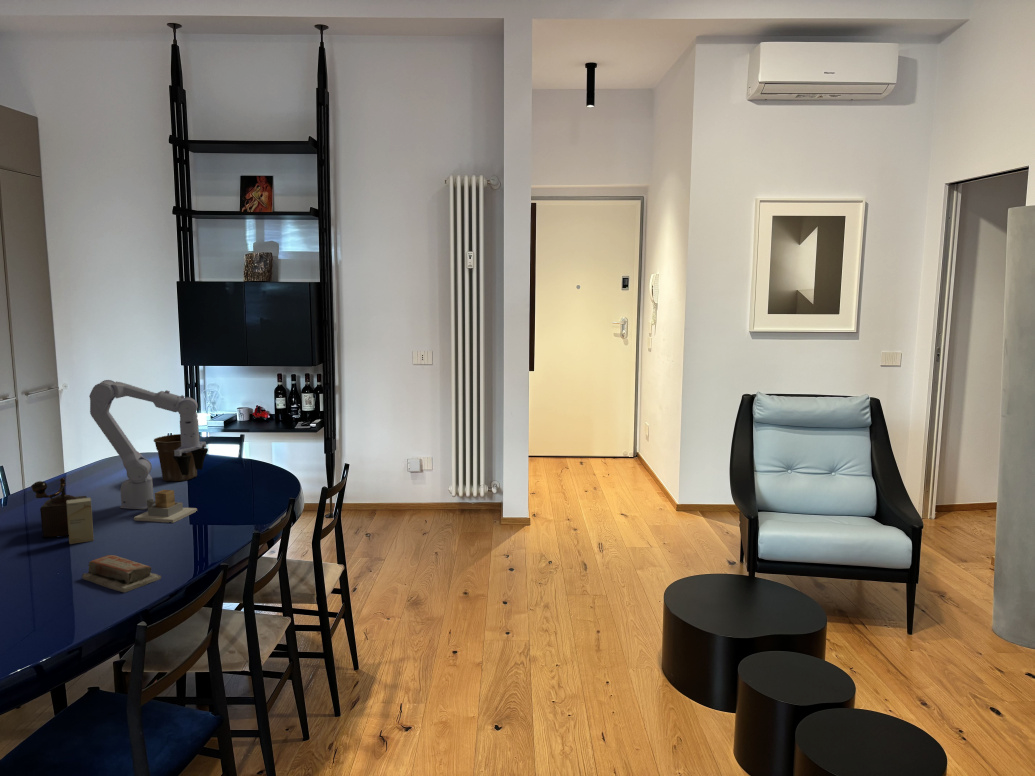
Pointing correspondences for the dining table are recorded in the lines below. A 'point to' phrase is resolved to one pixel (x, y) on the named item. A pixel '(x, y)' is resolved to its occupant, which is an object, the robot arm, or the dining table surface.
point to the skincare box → (79, 520)
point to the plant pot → (167, 462)
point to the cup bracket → (164, 513)
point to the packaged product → (119, 573)
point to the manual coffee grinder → (54, 509)
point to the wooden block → (164, 499)
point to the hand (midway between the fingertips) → (192, 472)
